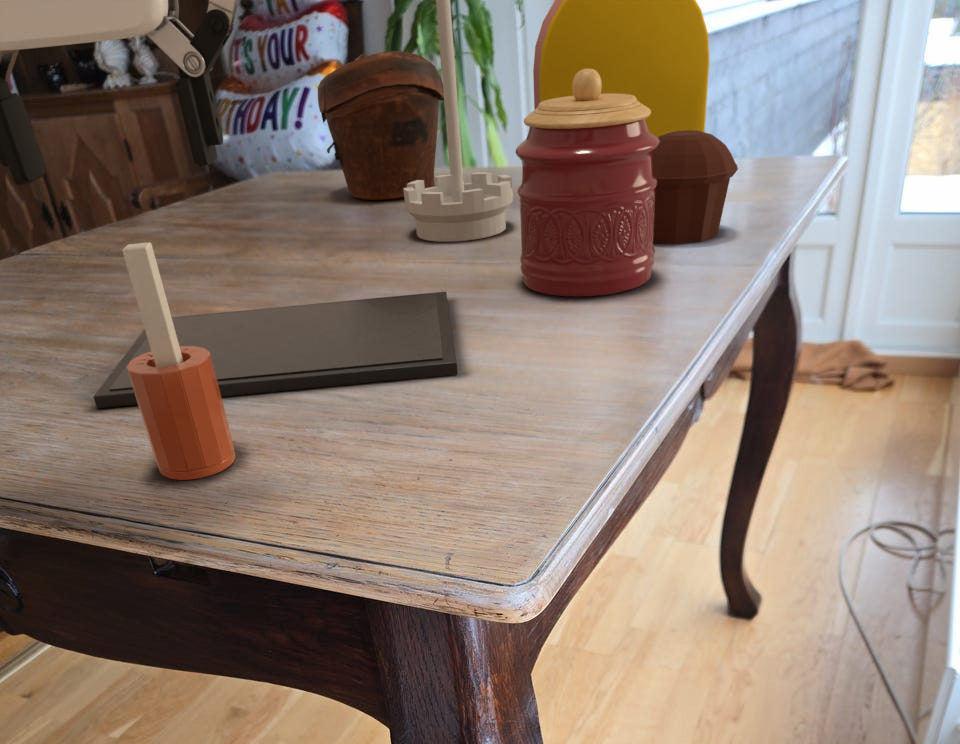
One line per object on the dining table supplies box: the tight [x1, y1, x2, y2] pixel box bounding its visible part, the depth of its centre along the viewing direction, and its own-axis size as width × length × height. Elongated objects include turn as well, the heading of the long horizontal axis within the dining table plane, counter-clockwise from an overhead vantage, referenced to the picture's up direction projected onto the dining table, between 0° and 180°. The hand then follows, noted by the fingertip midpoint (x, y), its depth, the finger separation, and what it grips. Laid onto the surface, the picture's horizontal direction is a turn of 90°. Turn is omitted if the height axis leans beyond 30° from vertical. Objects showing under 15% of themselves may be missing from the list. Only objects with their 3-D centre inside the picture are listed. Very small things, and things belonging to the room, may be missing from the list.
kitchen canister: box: [515, 69, 659, 297], centre depth 83 cm, size 13×13×18 cm
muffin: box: [653, 130, 739, 245], centre depth 97 cm, size 12×11×10 cm
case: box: [317, 50, 444, 201], centre depth 128 cm, size 18×20×18 cm
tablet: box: [93, 291, 458, 410], centre depth 77 cm, size 28×20×1 cm
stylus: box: [121, 241, 184, 367], centre depth 55 cm, size 1×1×13 cm
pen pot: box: [127, 346, 236, 481], centre depth 57 cm, size 5×5×7 cm
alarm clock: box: [532, 0, 710, 137], centre depth 113 cm, size 21×9×26 cm, turn 93°
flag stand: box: [403, 0, 514, 243], centre depth 101 cm, size 13×13×30 cm
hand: (119, 171), depth 49 cm, fingers open, 9 cm apart
